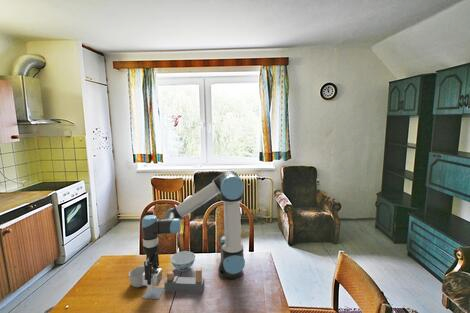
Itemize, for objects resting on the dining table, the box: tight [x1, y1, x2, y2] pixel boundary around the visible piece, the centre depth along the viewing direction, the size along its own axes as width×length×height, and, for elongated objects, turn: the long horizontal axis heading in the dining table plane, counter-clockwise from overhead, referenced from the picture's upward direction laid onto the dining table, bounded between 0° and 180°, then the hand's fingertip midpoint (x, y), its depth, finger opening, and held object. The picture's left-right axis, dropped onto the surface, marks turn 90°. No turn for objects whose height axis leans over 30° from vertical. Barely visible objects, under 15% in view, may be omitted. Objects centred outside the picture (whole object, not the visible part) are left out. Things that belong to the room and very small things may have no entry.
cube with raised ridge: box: [142, 267, 163, 287], centre depth 138 cm, size 8×6×7 cm
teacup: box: [128, 264, 145, 288], centre depth 148 cm, size 14×11×8 cm
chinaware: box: [170, 250, 196, 272], centre depth 162 cm, size 15×15×8 cm
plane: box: [164, 267, 205, 294], centre depth 142 cm, size 21×6×12 cm, turn 86°
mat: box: [141, 286, 165, 300], centre depth 139 cm, size 9×9×1 cm
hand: (152, 284), depth 139 cm, fingers closed on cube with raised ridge, 6 cm apart
